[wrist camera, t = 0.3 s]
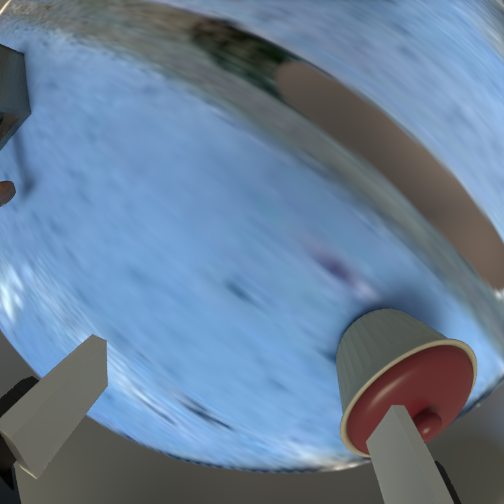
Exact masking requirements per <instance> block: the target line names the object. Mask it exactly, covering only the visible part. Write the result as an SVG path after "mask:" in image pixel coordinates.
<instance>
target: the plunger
mask: <svg viewBox="0 0 504 504" xmlns="http://www.w3.org/2000/svg"><path fill="white" fill-rule="evenodd" d="M3 119H4V115H3V116H2V117H1V119H0V125H1V123H2V122H3ZM15 193H16V190H15V186H14V183H13V182H11V181H2V182H0V207H1V206H3V205H5V204H6V203H8V202H9V201H10V200H11V199H12V198H13V197H14V195H15Z"/></svg>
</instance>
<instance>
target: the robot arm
mask: <svg viewBox="0 0 504 504" xmlns="http://www.w3.org/2000/svg"><path fill="white" fill-rule="evenodd" d="M107 386H108V377H107V340H104V339H102V338H100V337H98V336H95V335H93V334H92V335H91V336H90V337H89V338H87V339H86V340H85V341H84V342H83V343H82V344H80V345H79V346H78V347H77V348H76V349H75V350H74V351H72V352H71V353H70V354H69V355H68V356H67V357H66V358H65V359H63V360H62V361H61V362H60V363H59V364H58V365H57V366H56V367H54V368H53V369H52V370H51V371H50V372H49V373H48V374H47V375H46V376H44V377H43V378H42V379H41V380H40V381H39V380H37V379H36V378H34V377H33V376H31V377H28V378H26V379H23V380H21V381H20V382H19V383H17V384H16V385H15V386H14V388H13V389H11V390H10V391H8V392H7V394H5V395H4V396H3V397H1V399H0V504H21V500H20V495H19V491H18V486H17V480H16V475H15V468H14V465H13V464H14V463H15V461H16V460H17V462H18V463H19V465H20V466H21V468H22V469H24V470H25V471H27V472H28V473H29V474H30V475H32V476H33V477H34V478H36V479H38V477H39V476H40V475H41V473H42V472H43V470H44V469H45V468H46V466H47V465H48V464H49V462H50V461H51V459H52V458H53V457H54V455H55V454H56V453H57V451H58V450H59V448H60V447H61V446H62V445H63V443H64V442H65V440H66V439H67V438H68V437H69V435H70V434H71V432H72V431H73V430H74V429H75V427H76V426H77V425H78V423H79V422H80V421H81V419H82V418H83V417H84V416H85V414H86V413H87V412H88V410H89V409H90V408H91V407H92V405H93V404H94V403H95V401H96V400H97V399H98V398H99V396H100V395H101V394H102V392H103V391H104V390H105V389H106V387H107ZM366 444H367V447H368V450H369V453H370V457H371V460H372V463H373V466H374V469H375V472H376V475H377V479H378V482H379V485H380V488H381V492H382V495H383V499H384V502H385V504H461V502H460V500H459V498H458V496H457V493H456V491H455V489H454V487H453V485H452V484H451V481H450V479H449V478H448V475H447V473H446V471H445V469H444V467H443V466H442V465H441V464H440V463H439V462H438V461H434V460H433V459H432V457H431V455H430V453H429V451H428V449H427V447H426V445H425V443H424V441H423V439H422V437H421V435H420V433H419V432H418V430H417V428H416V426H415V424H414V422H413V421H412V419H411V417H410V415H409V413H408V411H407V410H406V408H405V406H404V405H392V406H391V407H390V409H389V410H388V412H387V413H386V415H385V416H384V418H383V419H382V420H381V422H380V423H379V425H378V426H377V428H376V429H375V430H374V432H373V433H372V434H371V436H370V437H369V438H368V440H367V441H366Z"/></svg>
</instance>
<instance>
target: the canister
mask: <svg viewBox="0 0 504 504" xmlns="http://www.w3.org/2000/svg"><path fill="white" fill-rule="evenodd" d="M336 367H337V376H338V383H339V390H340V397H341V404H342V412H343V416H342V419H341V423H340V436H341V439H342V442H343V444H344V445H345V446H346V448H347V449H349V450H350V451H351V452H353V453H355V454H357V455H360V456H364V457H370V453H369V450H368V447H367V444H366V441H367V440H368V438H369V437H370V436H371V434H372V433H373V432H374V430H375V429H376V428H377V426H378V425H379V423H380V422H381V420H382V419H383V418H384V416H385V415H386V413H387V412H388V410H389V409H390V407H391V406H392V405H404V406H405V408H406V410H407V411H408V413H409V415H410V417H411V419H412V421H413V422H414V424H415V426H416V428H417V430H418V432H419V433H420V435H421V437H422V439H423V441H424V443H427V442H428V441H430V440H431V439H433V438H434V437H436V436H437V435H438V434H440V433H441V432H442V431H443V430H444V429H445V428H446V427H447V426H448V425H449V424H450V423H451V422H452V421H453V420H454V419H455V418H456V417H457V415H458V414H459V413H460V411H461V410H462V408H463V407H464V405H465V403H466V401H467V400H468V398H469V396H470V394H471V392H472V390H473V387H474V384H475V381H476V376H477V360H476V356H475V353H474V352H473V350H472V349H471V347H470V346H469V345H467V344H466V343H464V342H463V341H460V340H457V339H448V338H447V337H445V336H444V335H442V334H441V333H439V332H437V331H436V330H434V329H433V328H431V327H430V326H428V325H426V324H425V323H423V322H421V321H420V320H418V319H416V318H415V317H413V316H411V315H409V314H407V313H405V312H403V311H400V310H397V309H391V308H389V309H384V308H383V309H380V310H375V311H372V312H369V313H367V314H364V315H363V316H362V317H360V318H358V319H357V320H356V321H355V322H353V323H352V325H351V326H350V327H348V329H347V331H346V332H345V333H344V334H343V337H342V338H341V340H340V343H339V345H338V350H337V353H336Z"/></svg>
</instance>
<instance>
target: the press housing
mask: <svg viewBox="0 0 504 504" xmlns="http://www.w3.org/2000/svg"><path fill="white" fill-rule="evenodd" d="M30 114H31V110H30V104H29V98H28V91H27V83H26V74H25V63H24V54H23V53H20V52H18V51H16V50H14V49H11V48H9V47H6V46H4V45H2V44H0V119H1V117H2V116H3V115H4V119H3V122H2V123H1V125H0V150H1V149H2V148H3V147H4V145H5V144H6V143H7V141H8V140H9V139H10V138H11V136H12V135H13V134H14V133H15V131H16V130H17V129H18V128H19V127H20V126H21V124H22V123H23V122H24V121H25V120H26V119H27V118H28V116H29V115H30Z"/></svg>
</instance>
